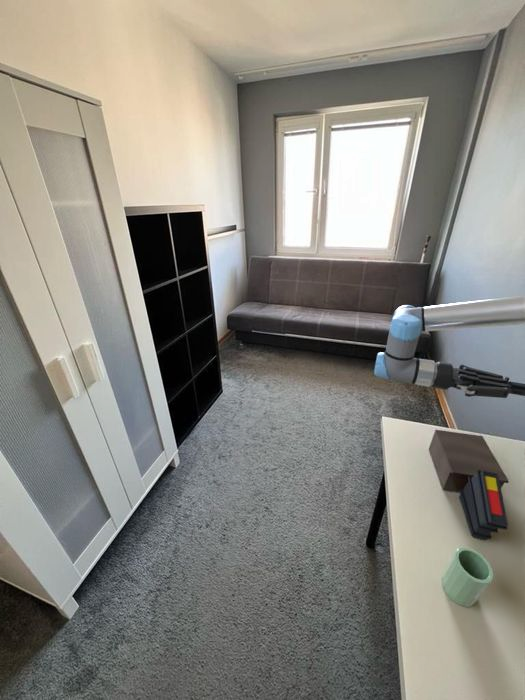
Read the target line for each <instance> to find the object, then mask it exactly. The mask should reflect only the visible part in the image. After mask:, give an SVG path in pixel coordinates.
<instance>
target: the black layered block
mask: <svg viewBox="0 0 525 700" xmlns="http://www.w3.org/2000/svg"><path fill="white" fill-rule="evenodd" d="M458 499H459V502H460V505H461V508H462V511H463V515H464V516H465V520H466V524H467V526H468V531H469V533H470V536H471V537H472V538H474V539H477V540H478V539H479V540H483V541H487V540H492V533H498V532H499V530H498V529H502V530H508V527H509V523H508V519H507V512H506V508H505V503H504V498H503V493H502V488H501V487H500V482H499V477H498V474H497V473H492V472H487V471H481V470H477V474H476V475H475V476H474V477H470V476H469V477H468V483H467V484H466V485H465V487H464V488H462V487H461V488H460V493H459V496H458Z"/></svg>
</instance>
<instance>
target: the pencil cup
mask: <svg viewBox="0 0 525 700" xmlns="http://www.w3.org/2000/svg"><path fill="white" fill-rule="evenodd" d="M493 580H494V571H493V567H492V566H491V564H490V562H489V561H488V560H487V559H486V557H484V556H483V555H482V553H480V552H479V551H477V550H475V549H474V548H471V547H467V546H462V547H459V548H457V549H456V551H455V552H454V554H453V555H452V557H451V559H450V561H449V563H448V565H447V566H446V568H445V570H444V572H443V573H442V576H441V587H442V588H443V590H444V592H445V594H446V595H447V597H448V598H449V599H451V601H453V602H454V603H455V604H457V605H458V606H460V607H464V608H470V607H473V606H474V605H475V604H476V602H477V601H478V600H479V598H480V597H481V596H482V594H483V593H484V592H485V590H486V589H487V588H488V587H489V585H490V584H491V582H492V581H493Z"/></svg>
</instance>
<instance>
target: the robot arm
mask: <svg viewBox="0 0 525 700" xmlns="http://www.w3.org/2000/svg"><path fill="white" fill-rule="evenodd" d="M521 325H525V295H516V296H509V297H500V298H492V299H491V298H490V299H481V300H473V301H463V302H455V303H448V304H447V303H446V304H438V305H430V306H421V307H420V306H418V307H415V306H414V305H410V304H403V305H401V306H399V307H398V308H396V310H394V312H393V314H392V317H391V323H390V324H389V332H388V336H387V342H386V346H385V347H386V348H385V351H384V352H377V355H376V359H375V364H374V371H373V373H374V375H375V377H378V378H381V379H385V380H388V381H396V382H403V383H408V384H413V385H416V386H422V387H423V386H424V387H428V388H429V387H432V388H434V389H439V390H443V391H447V390H449V389H450V388H452V389H453V388H454V389H456V390H460V391H461V390H462V391H463V392H464V396H466V397H468V398H471V397H485V398H486V397H487V398H500V399H508V396H509V394H511V395H515V396H516V395H517V396H522V397H525V383H521V382H516V381H510V377H508V376H505V378H504V376H503V375H501V374H498V373H494V372H491V371H486V370H481V369H478V368H474V367H470V366H468V365H465V364H460V365H459V366H458V367H454V366H453V363H451V362H443V361H436V362H435V360H433V359H426V358H418V357H415V353H416V349H417V347H418V343H419V339H420V336H421V334H422V333H423V332H434V331H450V330H464V329H477V328H491V327H506V326H521Z"/></svg>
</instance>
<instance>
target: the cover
mask: <svg viewBox="0 0 525 700" xmlns="http://www.w3.org/2000/svg"><path fill="white" fill-rule="evenodd" d="M434 433H436V435H437V438H438V440H439V443H440V445H441V448H442V451H443V453H444V456H445V458H446V461H447V463H448V466H449V468H450V471H451V473H452V474H454V475H461V476H467V477H469V476H470V477H474V476H475V475H476V474H477V470H481V471H487V472H492V473H497V474H498V477H499V482H503V483H504V484H509V483H510V480H509V479H508V477H507V475H506V474H505V472H504V470H503V468H502V466H501V465H500V464H499V462H498V460H497V458H496V457H495V455H494V453H493V452H492V450H491V448H490V446H489V445H488V443H487V441H486V440H485V438H484V437H483V435H478V434H470V433H463V432H455V431H449V430H442V429H435V430H434Z"/></svg>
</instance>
